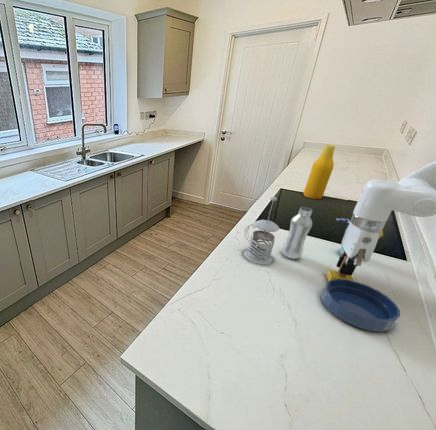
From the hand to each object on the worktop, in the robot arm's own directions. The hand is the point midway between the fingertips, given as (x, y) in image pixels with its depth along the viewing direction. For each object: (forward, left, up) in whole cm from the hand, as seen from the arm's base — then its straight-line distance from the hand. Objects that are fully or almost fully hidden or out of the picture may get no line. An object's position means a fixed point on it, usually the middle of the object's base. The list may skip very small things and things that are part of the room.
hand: (343, 270), depth 85 cm
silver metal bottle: (+13, -10, -5) cm, 17 cm away
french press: (+25, -5, -5) cm, 26 cm away
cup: (-6, -19, -5) cm, 20 cm away
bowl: (-1, +13, -5) cm, 14 cm away
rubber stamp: (0, 0, -5) cm, 5 cm away
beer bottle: (-5, -82, -5) cm, 82 cm away
